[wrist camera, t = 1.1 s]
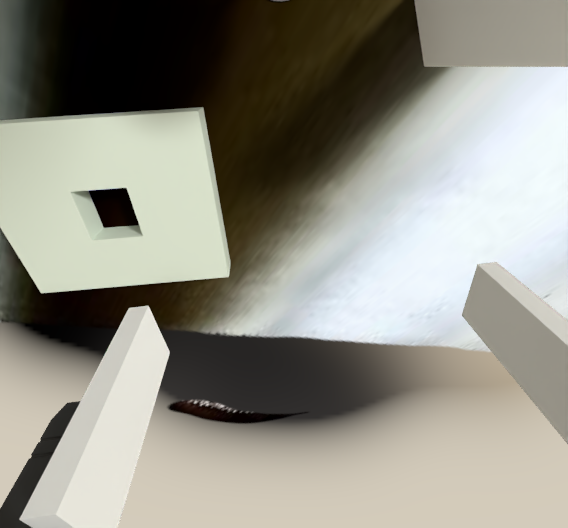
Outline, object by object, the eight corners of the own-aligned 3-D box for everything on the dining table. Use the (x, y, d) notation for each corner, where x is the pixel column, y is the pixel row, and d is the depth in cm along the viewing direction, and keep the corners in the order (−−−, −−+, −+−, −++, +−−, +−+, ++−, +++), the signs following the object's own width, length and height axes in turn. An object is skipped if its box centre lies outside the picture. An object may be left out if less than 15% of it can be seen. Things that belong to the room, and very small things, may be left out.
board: (-34, 122, 28) (-62, 127, 26) (203, 107, 29) (198, 110, 27) (55, 278, 38) (41, 293, 36) (230, 263, 39) (228, 276, 37)
